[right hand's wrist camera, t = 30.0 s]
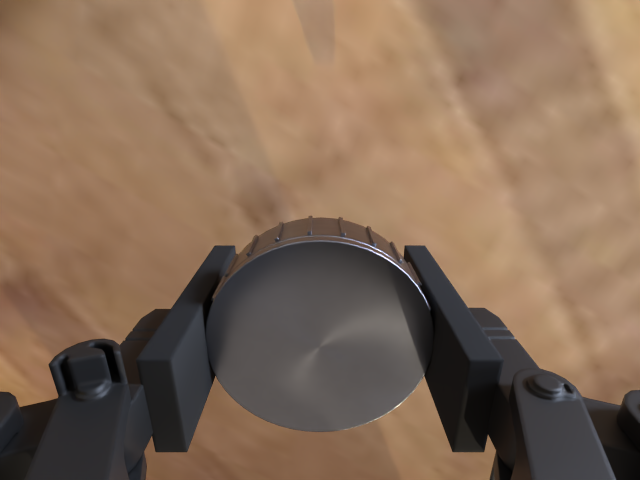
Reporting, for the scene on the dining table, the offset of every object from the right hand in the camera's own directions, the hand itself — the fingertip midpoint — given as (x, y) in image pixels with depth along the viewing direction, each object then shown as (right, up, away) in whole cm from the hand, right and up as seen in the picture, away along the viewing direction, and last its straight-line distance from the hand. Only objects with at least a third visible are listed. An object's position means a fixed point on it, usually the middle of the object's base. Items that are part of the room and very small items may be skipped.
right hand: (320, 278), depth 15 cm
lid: (0, -1, -4) cm, 4 cm away
